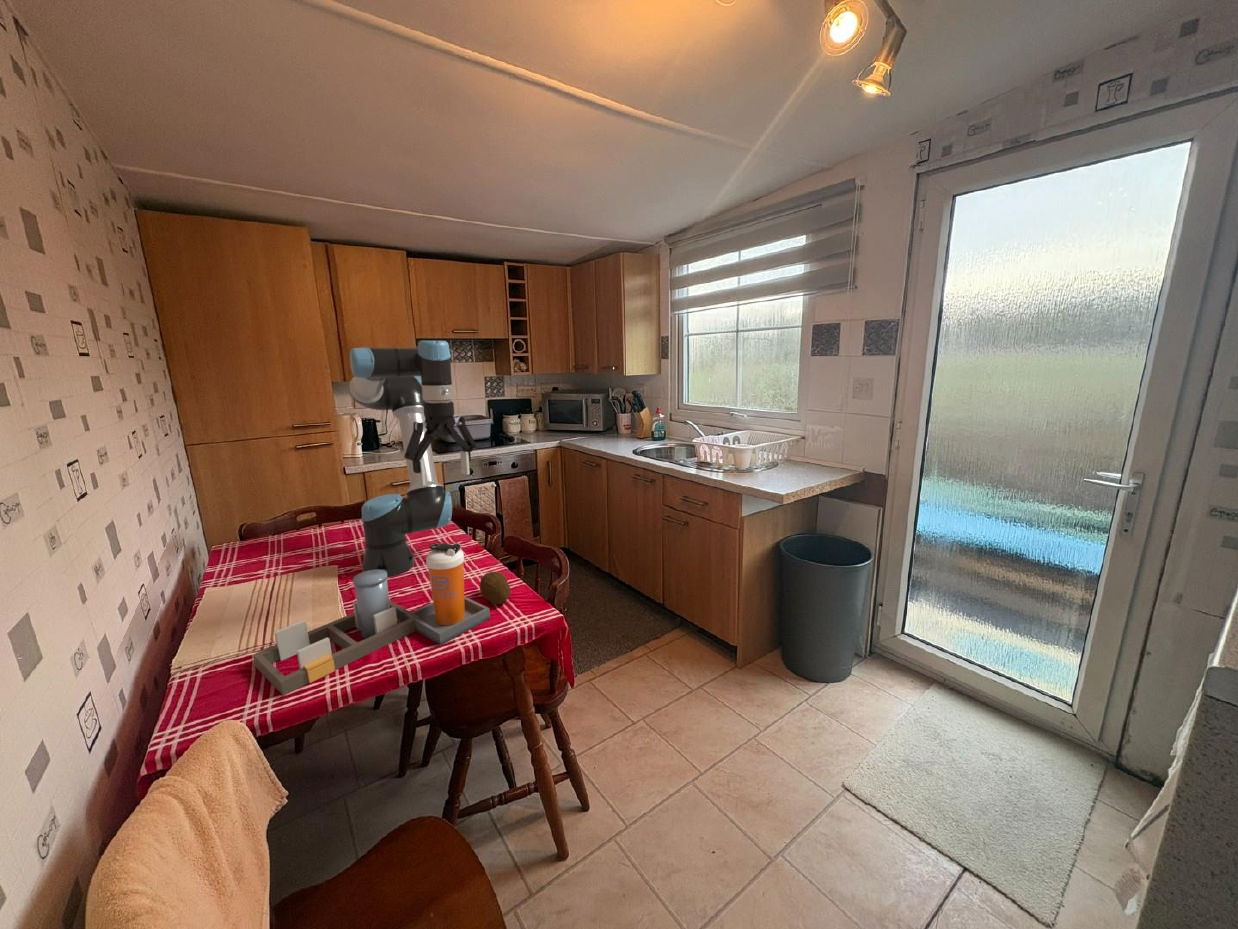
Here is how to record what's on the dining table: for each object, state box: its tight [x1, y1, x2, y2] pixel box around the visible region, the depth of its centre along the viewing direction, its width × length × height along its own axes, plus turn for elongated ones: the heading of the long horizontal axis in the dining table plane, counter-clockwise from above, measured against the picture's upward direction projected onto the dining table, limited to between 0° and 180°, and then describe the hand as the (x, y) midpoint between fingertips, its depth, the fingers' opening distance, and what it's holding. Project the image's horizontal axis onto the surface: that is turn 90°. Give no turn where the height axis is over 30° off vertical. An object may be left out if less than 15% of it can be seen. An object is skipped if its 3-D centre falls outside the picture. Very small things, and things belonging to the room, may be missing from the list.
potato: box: [479, 571, 511, 605], centre depth 134 cm, size 8×12×8 cm, turn 42°
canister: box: [352, 569, 391, 639], centre depth 118 cm, size 7×7×15 cm
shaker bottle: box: [425, 542, 465, 625], centre depth 121 cm, size 9×9×20 cm
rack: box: [252, 599, 420, 696], centre depth 112 cm, size 16×30×7 cm, turn 144°
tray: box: [406, 596, 491, 646], centre depth 123 cm, size 15×15×3 cm
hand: (444, 479), depth 131 cm, fingers open, 13 cm apart
